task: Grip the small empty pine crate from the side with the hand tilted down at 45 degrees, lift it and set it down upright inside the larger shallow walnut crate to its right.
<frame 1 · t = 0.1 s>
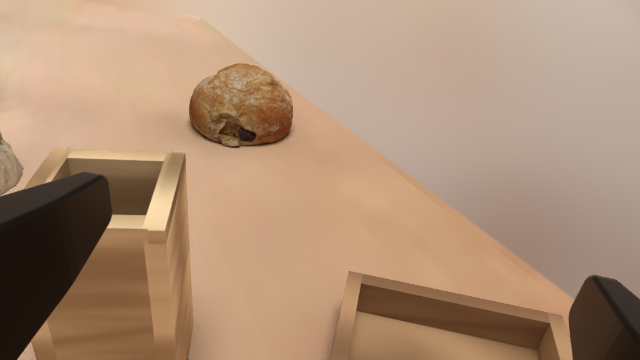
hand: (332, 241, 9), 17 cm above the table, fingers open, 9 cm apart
bread roll: (240, 126, 51), on the table
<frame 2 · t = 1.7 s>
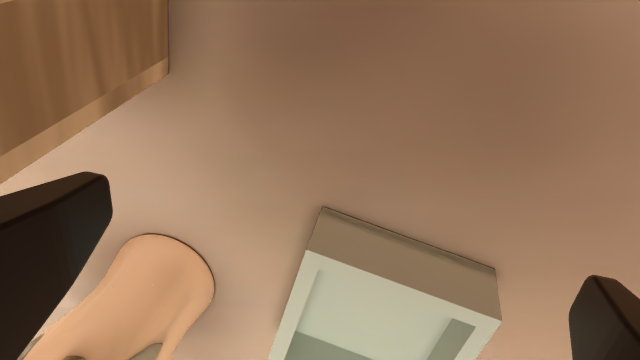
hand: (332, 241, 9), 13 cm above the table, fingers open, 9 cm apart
beer glass: (168, 272, 30), on the table
grey-green crate: (377, 299, 27), on the table
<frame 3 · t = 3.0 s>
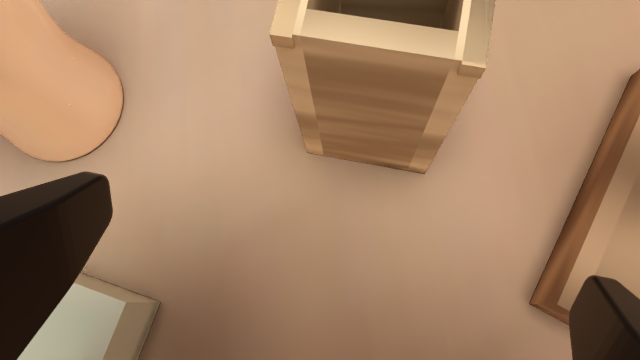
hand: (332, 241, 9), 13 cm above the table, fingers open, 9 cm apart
beer glass: (68, 106, 25), on the table
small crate: (375, 108, 24), on the table
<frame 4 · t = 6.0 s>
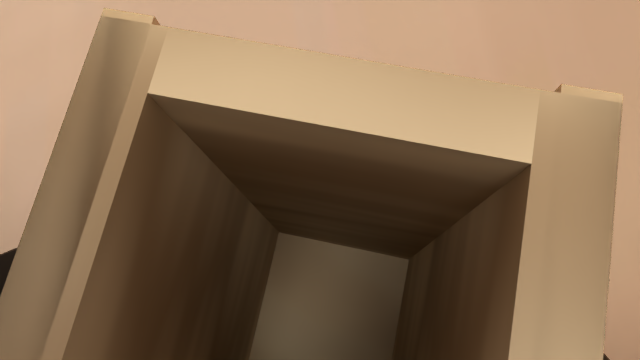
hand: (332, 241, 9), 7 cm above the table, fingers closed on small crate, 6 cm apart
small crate: (330, 312, 15), on the table, touching gripper
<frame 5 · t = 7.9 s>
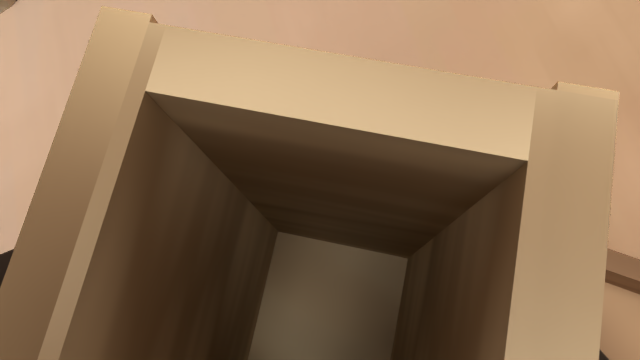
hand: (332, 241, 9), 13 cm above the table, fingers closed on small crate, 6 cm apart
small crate: (329, 311, 15), point 7 cm above the table, touching gripper
when the fingers open (9 cm above the table, at t = 10.2 s): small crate drops 2 cm, resting on crate.
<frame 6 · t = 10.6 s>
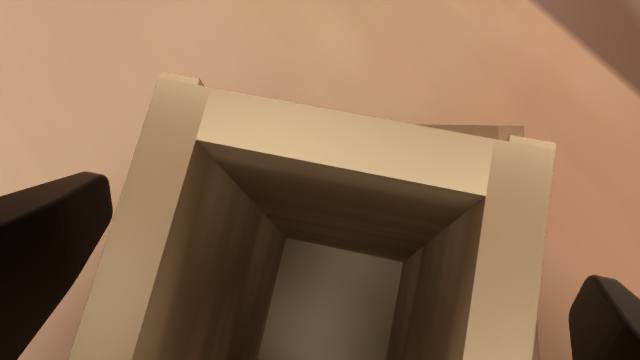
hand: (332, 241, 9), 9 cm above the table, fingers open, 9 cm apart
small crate: (332, 309, 17), point 1 cm above the table, touching crate
crate: (333, 311, 18), on the table
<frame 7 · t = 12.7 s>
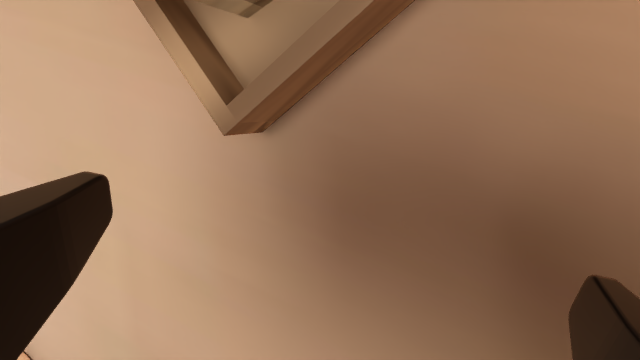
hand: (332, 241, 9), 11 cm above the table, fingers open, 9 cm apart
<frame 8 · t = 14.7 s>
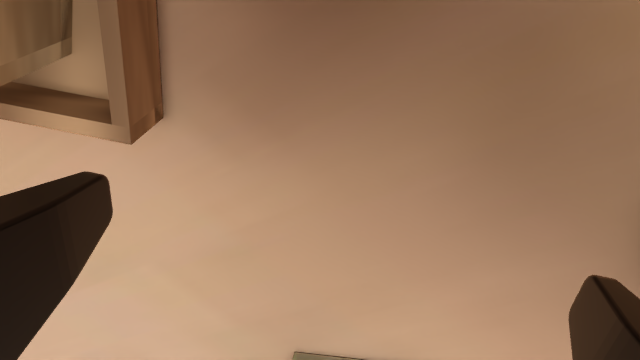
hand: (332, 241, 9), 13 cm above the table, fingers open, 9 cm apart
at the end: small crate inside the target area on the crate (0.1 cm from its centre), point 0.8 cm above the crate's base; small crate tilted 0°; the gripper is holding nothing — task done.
